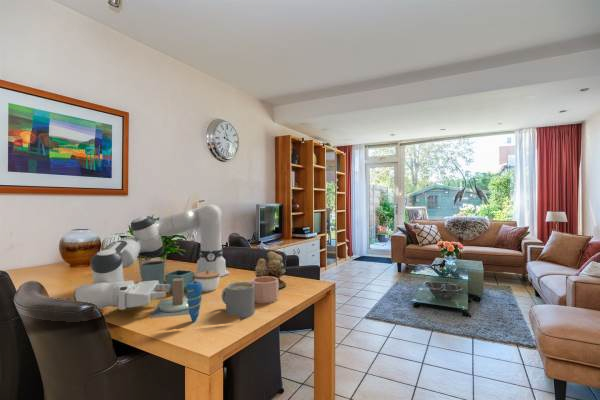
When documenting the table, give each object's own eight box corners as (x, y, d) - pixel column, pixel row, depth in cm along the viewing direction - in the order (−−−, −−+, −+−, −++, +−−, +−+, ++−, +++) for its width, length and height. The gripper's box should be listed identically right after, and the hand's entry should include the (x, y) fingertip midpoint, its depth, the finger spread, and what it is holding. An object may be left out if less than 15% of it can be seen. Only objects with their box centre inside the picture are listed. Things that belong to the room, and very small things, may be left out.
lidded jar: (212, 295, 130) (212, 273, 130) (190, 294, 132) (190, 272, 132) (224, 288, 141) (223, 268, 141) (202, 287, 143) (202, 267, 143)
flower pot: (164, 294, 131) (164, 274, 131) (178, 289, 140) (177, 269, 140) (181, 296, 129) (181, 275, 129) (194, 290, 137) (194, 270, 137)
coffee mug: (260, 312, 109) (259, 285, 109) (237, 321, 102) (237, 291, 102) (237, 304, 118) (237, 278, 118) (215, 311, 110) (214, 284, 111)
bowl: (249, 296, 128) (249, 277, 128) (275, 294, 131) (275, 275, 131) (252, 304, 117) (252, 284, 117) (280, 302, 120) (280, 282, 120)
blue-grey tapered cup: (165, 289, 140) (165, 263, 140) (140, 292, 135) (140, 265, 135) (163, 284, 148) (163, 259, 149) (140, 287, 143) (139, 262, 144)
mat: (160, 301, 122) (160, 299, 122) (201, 298, 126) (201, 296, 126) (149, 320, 103) (149, 318, 103) (198, 315, 107) (198, 313, 107)
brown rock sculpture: (276, 282, 151) (276, 247, 152) (292, 286, 143) (293, 250, 143) (246, 289, 138) (246, 252, 138) (263, 295, 130) (263, 255, 130)
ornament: (182, 324, 99) (182, 278, 99) (195, 319, 104) (195, 275, 104) (192, 327, 96) (192, 280, 96) (205, 322, 101) (205, 277, 101)
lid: (162, 302, 119) (162, 276, 119) (197, 299, 123) (197, 274, 123) (156, 313, 107) (156, 285, 107) (195, 310, 110) (195, 282, 110)
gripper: (134, 293, 120) (171, 290, 123) (117, 311, 100) (163, 307, 103) (134, 277, 120) (171, 275, 123) (117, 292, 100) (163, 289, 104)
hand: (168, 290), depth 113 cm, fingers open, 8 cm apart
